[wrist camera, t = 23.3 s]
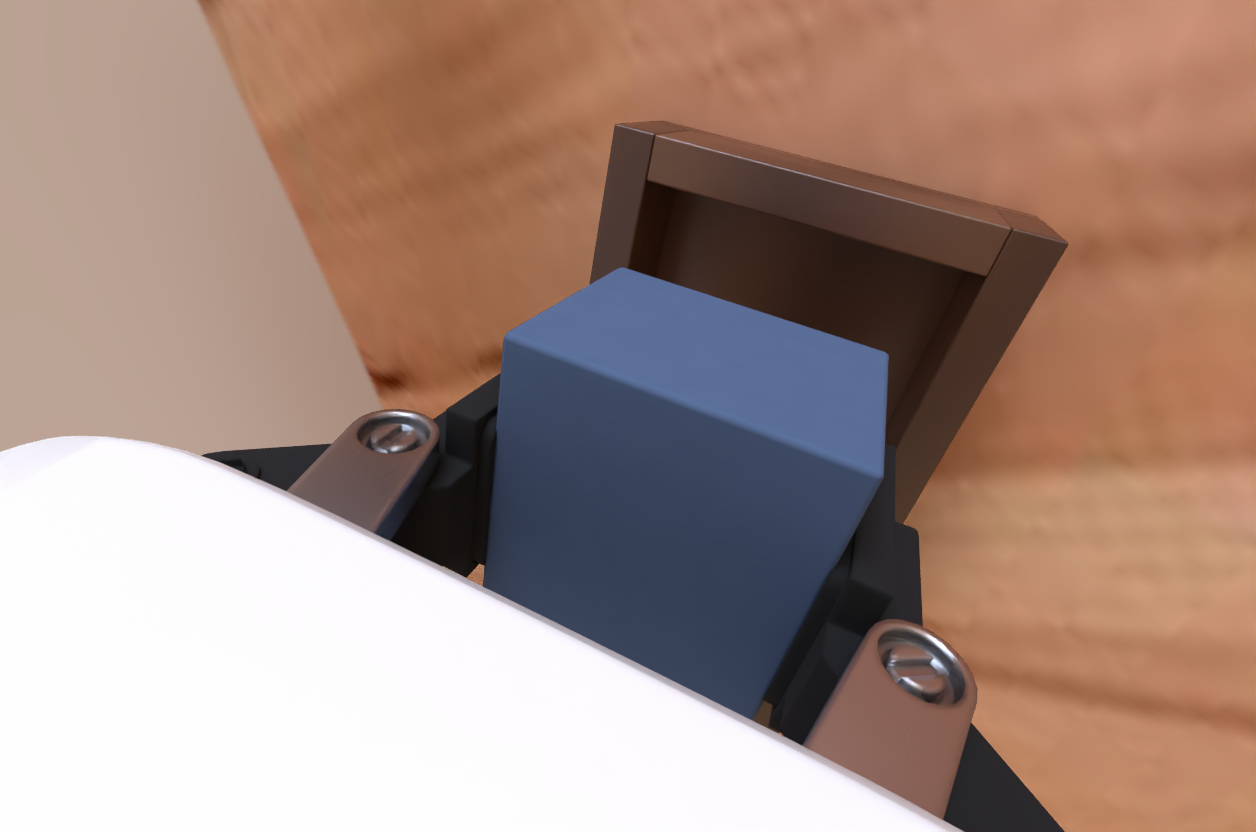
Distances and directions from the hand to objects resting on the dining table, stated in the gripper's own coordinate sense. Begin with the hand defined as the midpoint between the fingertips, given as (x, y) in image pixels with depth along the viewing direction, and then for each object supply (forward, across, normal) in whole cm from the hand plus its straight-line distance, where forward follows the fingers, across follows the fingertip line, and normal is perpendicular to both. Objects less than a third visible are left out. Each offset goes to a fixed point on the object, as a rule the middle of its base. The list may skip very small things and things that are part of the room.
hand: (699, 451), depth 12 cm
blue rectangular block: (0, 0, 0) cm, 0 cm away
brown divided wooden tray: (+7, 0, +4) cm, 8 cm away
